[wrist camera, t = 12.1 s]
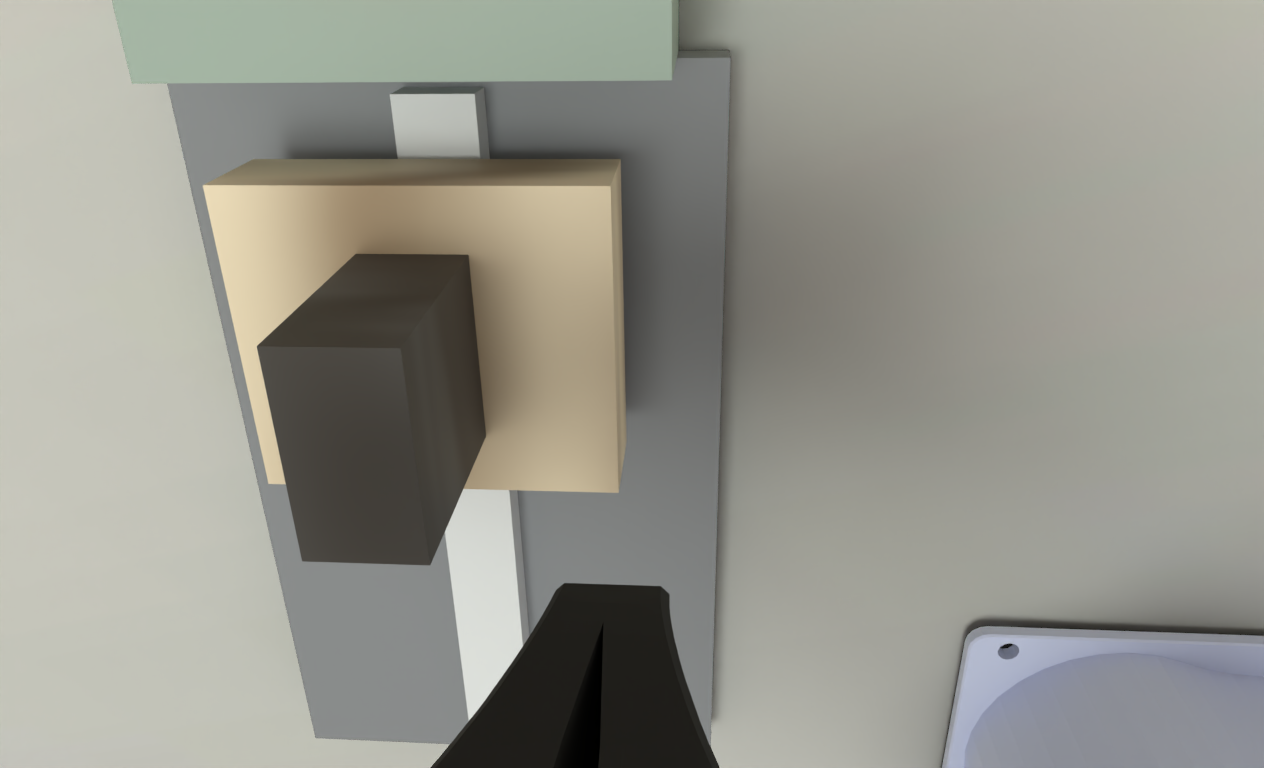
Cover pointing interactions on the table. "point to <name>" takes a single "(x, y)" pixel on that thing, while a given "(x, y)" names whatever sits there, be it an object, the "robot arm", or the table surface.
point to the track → (511, 519)
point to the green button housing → (397, 40)
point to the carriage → (424, 336)
